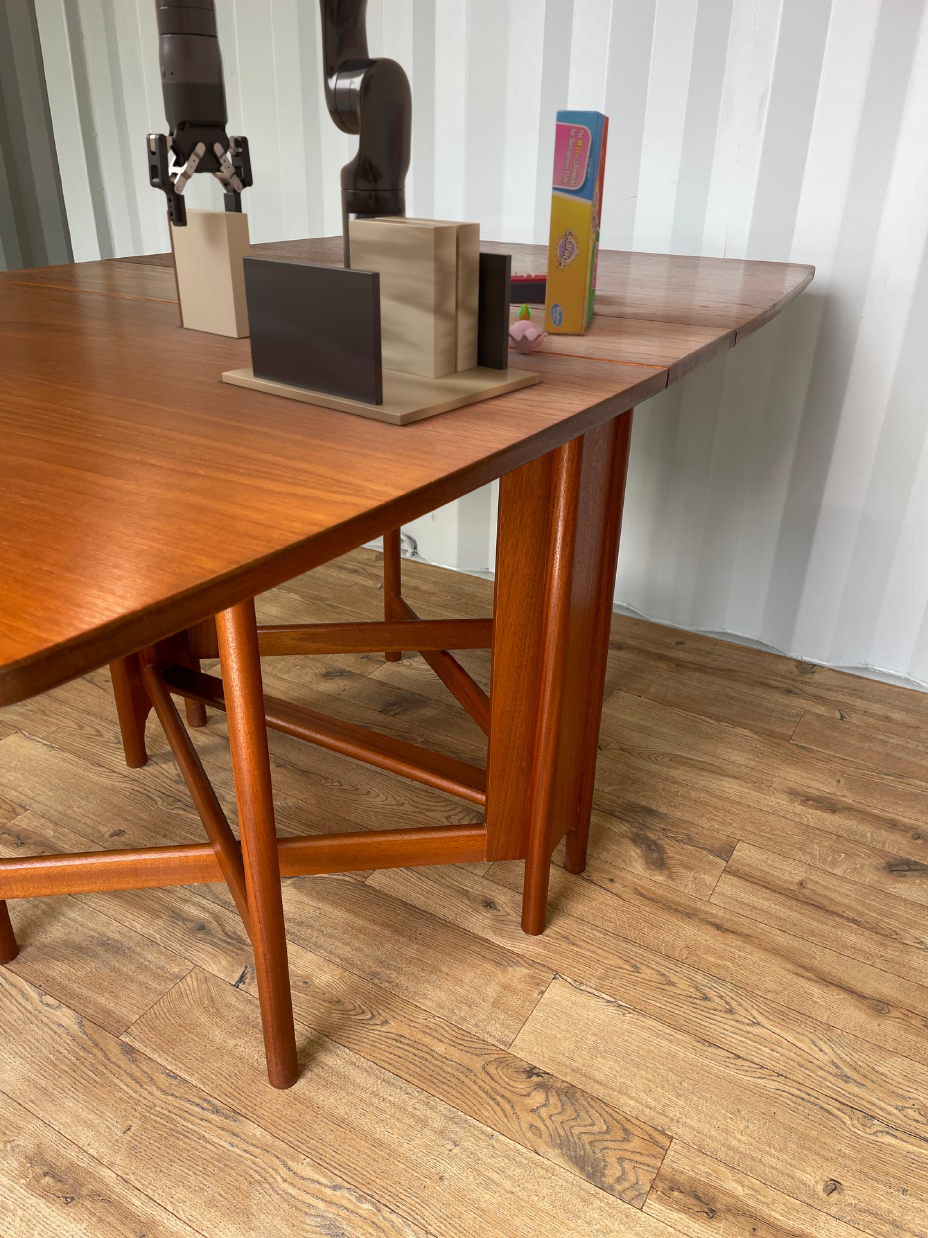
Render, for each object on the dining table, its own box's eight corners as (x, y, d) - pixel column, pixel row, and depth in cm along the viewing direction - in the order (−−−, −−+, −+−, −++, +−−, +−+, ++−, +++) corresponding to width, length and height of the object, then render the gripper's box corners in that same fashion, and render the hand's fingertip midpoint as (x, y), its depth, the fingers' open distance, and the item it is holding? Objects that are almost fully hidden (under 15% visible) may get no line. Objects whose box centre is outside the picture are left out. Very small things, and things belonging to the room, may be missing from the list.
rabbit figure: (499, 350, 123) (497, 354, 109) (500, 303, 121) (499, 301, 107) (545, 351, 123) (550, 355, 109) (548, 304, 121) (552, 302, 107)
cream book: (202, 323, 130) (188, 208, 123) (258, 334, 124) (247, 213, 117) (180, 326, 128) (166, 209, 121) (237, 338, 121) (225, 214, 114)
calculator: (498, 270, 159) (585, 267, 158) (498, 296, 161) (584, 294, 160) (495, 278, 149) (588, 275, 148) (496, 306, 151) (587, 303, 150)
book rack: (369, 350, 116) (364, 211, 108) (539, 382, 101) (547, 225, 94) (222, 381, 100) (205, 221, 92) (400, 425, 85) (397, 240, 78)
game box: (582, 336, 126) (599, 110, 113) (542, 334, 127) (555, 109, 114) (594, 312, 144) (609, 114, 131) (559, 310, 145) (571, 114, 132)
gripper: (162, 76, 105) (179, 229, 112) (258, 83, 115) (268, 224, 122) (123, 77, 109) (143, 225, 116) (220, 84, 119) (232, 220, 126)
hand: (207, 224), depth 119 cm, fingers open, 8 cm apart
